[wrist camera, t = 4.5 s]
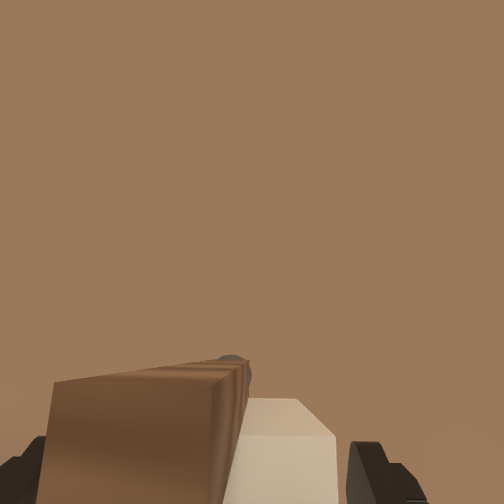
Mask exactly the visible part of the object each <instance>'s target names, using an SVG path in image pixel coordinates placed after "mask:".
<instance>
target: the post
mask: <svg viewBox="0 0 504 504" xmlns="http://www.w3.org/2000/svg"><path fill="white" fill-rule="evenodd" d="M222 504H338V482H337V457H336V436H334V435H333V434H332V433H331V432H330V431H329V430H328V429H327V428H326V427H325V426H324V425H323V424H322V423H321V422H320V421H319V420H318V419H317V418H316V417H315V416H314V415H313V414H312V413H311V412H309V410H308V409H306V408H305V407H304V405H302V404H301V403H300V402H299V401H298V400H297V399H274V398H273V399H272V398H269V399H268V398H248V402H247V406H246V410H245V414H244V418H243V422H242V426H241V430H240V434H239V438H238V442H237V446H236V450H235V454H234V459H233V463H232V467H231V471H230V475H229V479H228V483H227V487H226V491H225V495H224V499H223V503H222Z"/></svg>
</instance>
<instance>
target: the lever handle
mask: <svg viewBox="0 0 504 504" xmlns="http://www.w3.org/2000/svg"><path fill="white" fill-rule="evenodd" d="M250 381H251V369H250V367H249V360H244V359H243V358H242V357H240V356H237V355H226V356H222V357H220V358H219V359H214V360H207V361H200V362H193V363H186V364H179V365H172V366H165V367H158V368H151V369H144V370H137V371H131V372H124V373H116V374H109V375H103V376H96V377H89V378H82V379H75V380H68V381H61V382H54V387H53V394H52V401H51V407H50V414H49V420H48V427H47V434H46V440H45V447H44V453H43V460H42V467H41V473H40V480H39V486H38V493H37V500H36V504H222V503H223V499H224V495H225V491H226V487H227V483H228V479H229V475H230V471H231V467H232V463H233V459H234V454H235V450H236V446H237V442H238V438H239V434H240V430H241V426H242V422H243V418H244V414H245V410H246V406H247V402H248V398H249V385H250Z"/></svg>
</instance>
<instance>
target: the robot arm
mask: <svg viewBox="0 0 504 504" xmlns="http://www.w3.org/2000/svg"><path fill="white" fill-rule="evenodd" d="M45 440H46V436H38V437H36V438H35V439H34V440H33V441H32V442H31V444H30V445H29V446H28V448H27V449H26V450H25V452H24V453H23V454H22V456H21V457H15V456H14V457H12V458H11V459H9V460H8V461H7V462H5V463H4V464H3V465H1V466H0V504H36V500H37V493H38V486H39V480H40V473H41V467H42V460H43V453H44V447H45ZM346 496H347V504H429V503H427V499H426V497H425V495H424V493H423V491H422V489H421V487H420V485H419V483H418V481H417V479H416V478H415V477H414V476H413V475H412V474H411V473H410V472H409V471H408V470H407V469H406V468H405V467H404V466H403V465H402V464H401V463H389V461H388V459H387V457H386V455H385V452H384V451H383V448H382V446H381V444H380V443H379V442H357V441H356V442H355V441H353V442H351V445H350V452H349V461H348V472H347V480H346Z"/></svg>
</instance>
